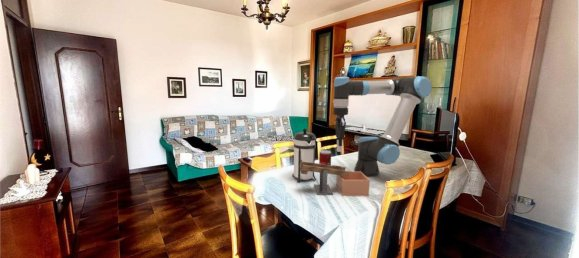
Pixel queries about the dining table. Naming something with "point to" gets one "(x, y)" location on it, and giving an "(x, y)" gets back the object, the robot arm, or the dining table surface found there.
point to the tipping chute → (322, 168)
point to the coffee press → (304, 153)
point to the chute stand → (323, 185)
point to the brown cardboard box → (353, 184)
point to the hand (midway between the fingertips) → (339, 151)
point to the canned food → (325, 157)
